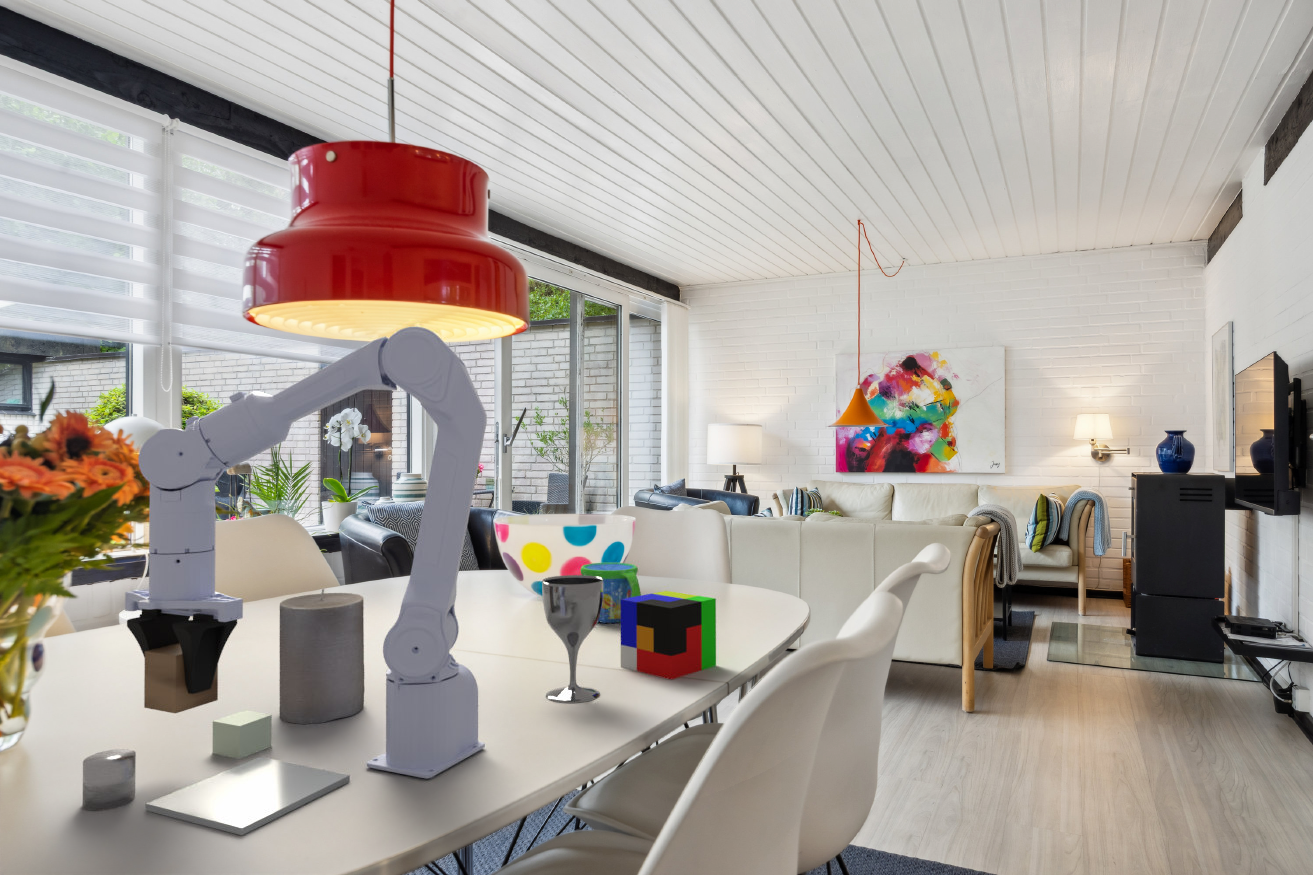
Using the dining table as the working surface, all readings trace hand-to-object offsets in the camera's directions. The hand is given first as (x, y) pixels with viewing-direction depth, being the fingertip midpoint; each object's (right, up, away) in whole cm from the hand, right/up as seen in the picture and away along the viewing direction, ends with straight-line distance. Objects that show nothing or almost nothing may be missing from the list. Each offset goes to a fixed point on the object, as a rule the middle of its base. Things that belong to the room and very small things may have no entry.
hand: (182, 688), depth 81 cm
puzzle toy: (+49, -9, +40) cm, 64 cm away
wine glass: (+36, -9, +26) cm, 45 cm away
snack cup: (+38, -10, +73) cm, 83 cm away
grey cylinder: (-3, -8, -7) cm, 11 cm away
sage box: (+3, -9, +6) cm, 11 cm away
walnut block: (0, -2, 0) cm, 2 cm away
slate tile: (+10, -8, -5) cm, 14 cm away
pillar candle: (+6, -9, +19) cm, 22 cm away
